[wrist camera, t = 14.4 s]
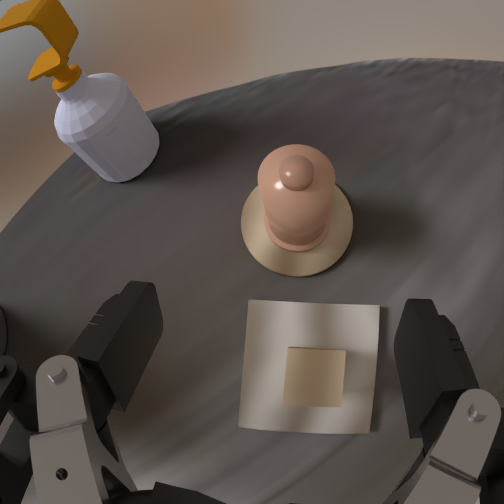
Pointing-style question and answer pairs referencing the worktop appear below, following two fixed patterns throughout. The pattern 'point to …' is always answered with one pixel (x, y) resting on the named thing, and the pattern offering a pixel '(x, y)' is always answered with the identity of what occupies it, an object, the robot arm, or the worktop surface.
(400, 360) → the robot arm
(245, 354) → the white display stand
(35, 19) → the soap bottle
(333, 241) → the mat
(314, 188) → the lidded jar
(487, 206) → the worktop surface
